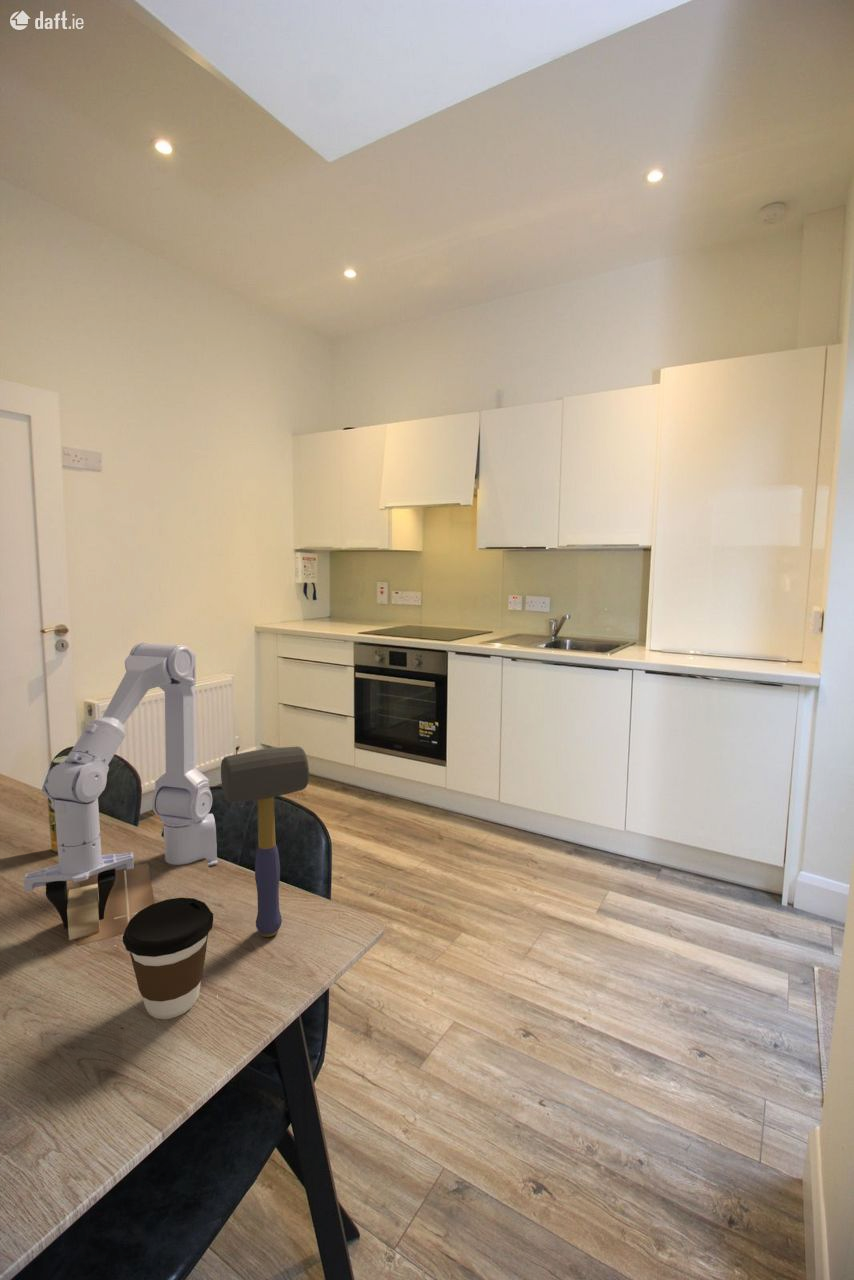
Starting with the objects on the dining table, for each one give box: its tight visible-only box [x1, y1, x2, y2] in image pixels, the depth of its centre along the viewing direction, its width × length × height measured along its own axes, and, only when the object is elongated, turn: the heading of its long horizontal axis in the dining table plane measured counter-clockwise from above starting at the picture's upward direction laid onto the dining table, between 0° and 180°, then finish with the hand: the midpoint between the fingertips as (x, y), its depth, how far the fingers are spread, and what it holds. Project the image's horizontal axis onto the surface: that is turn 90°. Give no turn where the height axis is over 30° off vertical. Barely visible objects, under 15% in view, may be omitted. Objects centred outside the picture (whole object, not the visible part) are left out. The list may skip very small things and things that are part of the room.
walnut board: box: [76, 862, 156, 947], centre depth 99 cm, size 11×22×2 cm, turn 29°
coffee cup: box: [122, 897, 214, 1020], centre depth 77 cm, size 11×11×12 cm
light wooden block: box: [67, 884, 100, 941], centre depth 91 cm, size 4×6×6 cm, turn 29°
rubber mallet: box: [220, 746, 310, 938], centre depth 91 cm, size 12×8×30 cm, turn 119°
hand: (84, 920), depth 92 cm, fingers closed on light wooden block, 4 cm apart
